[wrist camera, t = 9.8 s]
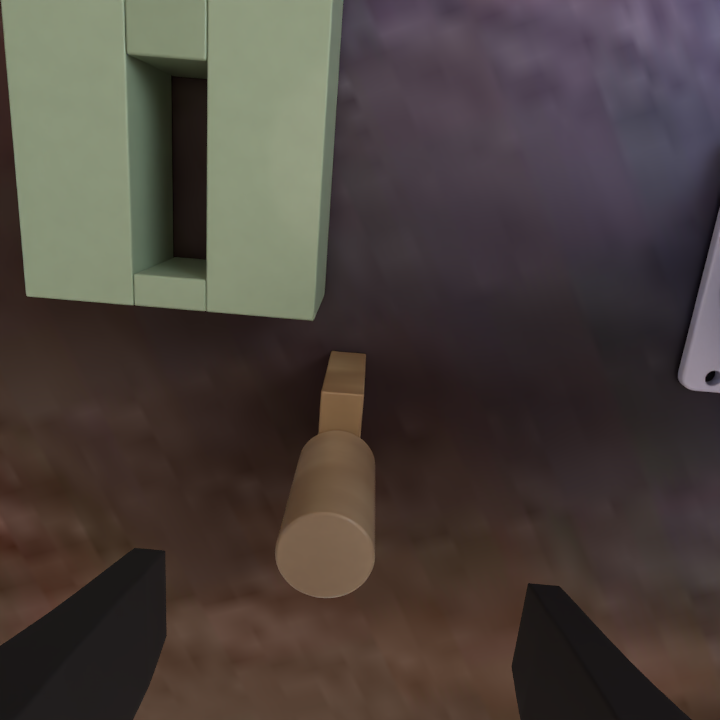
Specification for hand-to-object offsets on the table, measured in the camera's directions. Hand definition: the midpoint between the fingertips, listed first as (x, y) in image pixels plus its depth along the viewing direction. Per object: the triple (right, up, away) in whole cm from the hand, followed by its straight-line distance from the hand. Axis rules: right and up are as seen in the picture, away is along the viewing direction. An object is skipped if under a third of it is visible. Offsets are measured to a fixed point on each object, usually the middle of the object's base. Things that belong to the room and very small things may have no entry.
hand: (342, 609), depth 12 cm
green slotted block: (-4, +14, +6) cm, 16 cm away
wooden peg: (0, +3, +9) cm, 10 cm away
